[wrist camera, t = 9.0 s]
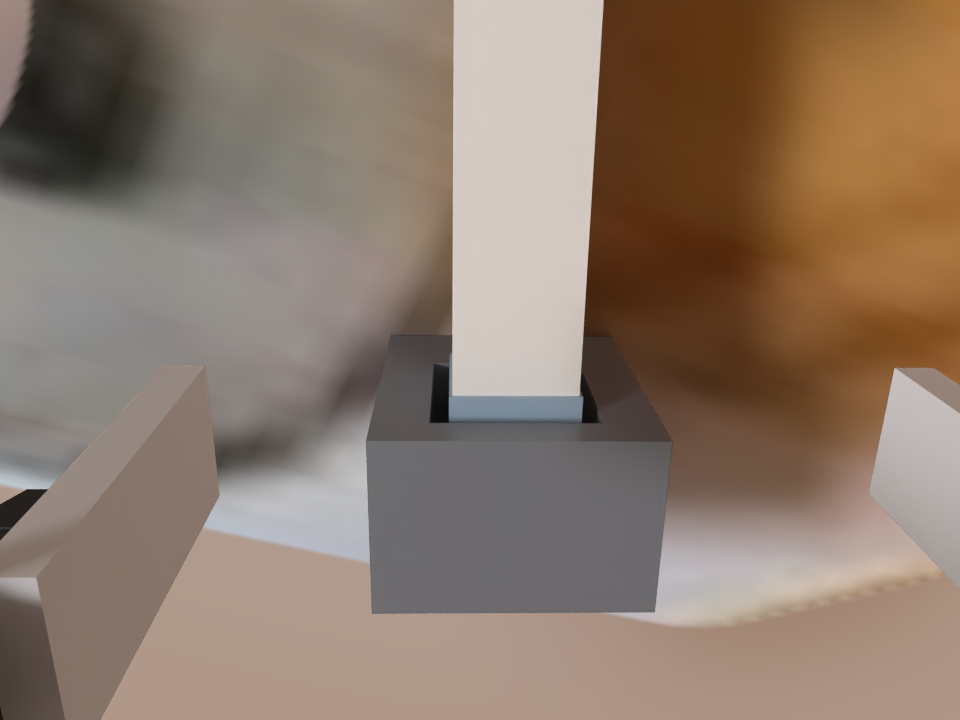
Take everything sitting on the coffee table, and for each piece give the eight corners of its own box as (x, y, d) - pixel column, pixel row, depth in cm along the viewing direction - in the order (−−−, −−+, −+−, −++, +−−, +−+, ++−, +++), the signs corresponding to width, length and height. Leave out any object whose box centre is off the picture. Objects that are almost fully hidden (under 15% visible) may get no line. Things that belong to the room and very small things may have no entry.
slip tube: (451, -158, 24) (450, -202, 20) (593, -154, 24) (620, -198, 20) (449, 431, 30) (448, 485, 26) (562, 431, 31) (577, 485, 27)
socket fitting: (391, 335, 33) (366, 441, 24) (611, 336, 34) (672, 441, 24) (394, 467, 35) (372, 613, 26) (601, 468, 36) (654, 612, 26)
